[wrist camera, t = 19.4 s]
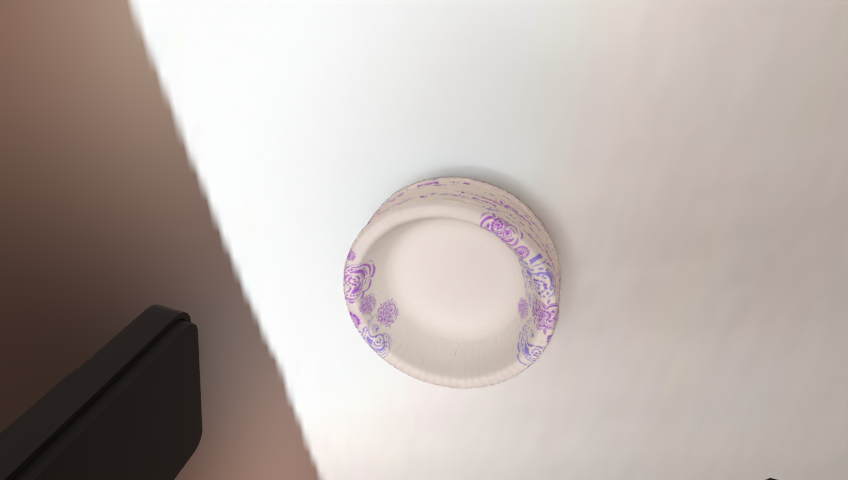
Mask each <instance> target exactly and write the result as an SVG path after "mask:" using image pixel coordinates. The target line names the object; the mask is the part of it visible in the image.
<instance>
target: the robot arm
mask: <svg viewBox="0 0 848 480" xmlns="http://www.w3.org/2000/svg"><path fill="white" fill-rule="evenodd" d="M201 435H202V415H201V391H200V370H199V347H198V329H197V326H196V325H195V324H193V323H191V319H190V316H189V315H188V313H185V312H182V311H178V310H174V309H171V308H167V307H164V306H161V305H152V306H150V307H149V308H147V309H146V310H145V311H144V312H143V313H141V315H139V316H138V317H137V318H136V319H135V320H133V321H132V322H131V323H130V324H129V325H128V326H127V327H125V328H124V329H123V330H122V331H121V332H120V333H118V334H117V335H116V336H115V337H114V338H113V339H112V340H110V341H109V342H108V343H107V344H106V345H105V346H104V347H102V348H101V349H100V350H99V351H98V352H97V353H95V354H94V355H93V356H92V357H91V358H90V359H89V360H87V361H86V362H85V363H84V364H83V365H82V366H80V367H79V368H78V369H76V370H74V371H73V372H72V373H70V374H69V375H67V376H66V377H65V378H64V379H63V380H62V381H60V382H59V383H58V384H57V385H56V386H55V387H54V388H52V389H51V390H50V391H49V392H48V393H47V394H45V395H44V396H43V397H42V398H41V399H40V400H38V401H37V402H36V403H35V404H34V405H33V406H32V407H30V408H29V409H28V410H27V411H26V412H25V413H23V414H22V415H21V416H20V417H19V418H18V419H16V420H15V421H14V422H13V423H12V424H11V425H10V426H8V427H7V428H6V429H5V430H4V431H3V432H1V433H0V480H174V479H175V478H176V476H177V475H178V474H179V472H180V471H181V469H182V468H183V467H184V465H185V464H186V463H187V461H188V460H189V458H190V457H191V456H192V454H193V453H194V452H195V450H196V448H197V446H198V444H199V442H200V439H201ZM766 480H776V479H772V478H769V479H766Z"/></svg>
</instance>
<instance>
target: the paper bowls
mask: <svg viewBox="0 0 848 480" xmlns="http://www.w3.org/2000/svg"><path fill="white" fill-rule="evenodd" d="M560 280H561V277H560V267H559V260H558V256H557V252H556V249H555V246H554V244H553V242H552V240H551V237H550V236H549V234H548V232H547V230H546V229H545V227H544V226H543V224H542V223H541V221H540V220H539V219H538V218H537V217H536V216H535V215H534V214H533V213H532V211H531V210H530V209H529V208H528V207H527V206H526V205H525V204H523V203H522V202H521V201H520V200H519V199H518V198H516V197H515V196H513V195H512V194H510V193H508V192H506V191H504V190H502V189H499V188H497V187H495V186H493V185H491V184H488V183H485V182H481V181H477V180H473V179H469V178H461V177H441V178H433V179H429V180H424V181H420V182H417V183H414V184H412V185H409V186H407V187H406V188H404V189H402V190H400V191H398V192H396V193H394V194H393V195H392V196H391V197H390V198H389V199H388V200H387V201H385V203H383V204H382V206H381V207H380V208H379V209H378V210H377V211H376V212H375V214H374V215H373V216H372V218H371V219H370V221H369V222H368V224H367V225H366V226H365V227H364V229H363V230H362V231H361V233H360V234H359V236H358V237H357V238H356V240H355V241H354V243H353V244H352V246H351V249H350V252H349V254H348V257H347V260H346V263H345V269H344V293H345V300H346V303H347V307H348V310H349V313H350V315H351V318H352V320H353V322H354V324H355V326H356V328H357V329H358V331H359V332H360V334H361V335H362V337H363V338H364V340H365V341H366V342H367V343H368V344H369V346H370V347H371V348H372V349H373V350H374V351H375V352H376V353H377V354H378V355H379V356H381V357H382V358H383V359H384V360H385V361H387V362H388V363H389V364H391V365H392V366H394V367H395V368H397V369H398V370H400V371H402V372H404V373H406V374H407V375H409V376H412V377H414V378H416V379H419V380H422V381H424V382H428V383H431V384H435V385H439V386H445V387H452V388H477V387H485V386H489V385H493V384H497V383H500V382H503V381H505V380H508V379H510V378H512V377H514V376H516V375H518V374H519V373H521V372H523V371H524V370H525V369H527V368H528V367H529V366H530V365H531V364H533V363H534V361H535V360H536V359H537V358H538V357H539V356H540V355H541V354H542V352H543V351H544V349H545V348H546V346H547V345H548V343H549V341H550V339H551V337H552V335H553V333H554V330H555V327H556V323H557V320H558V313H559V298H560Z"/></svg>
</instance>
